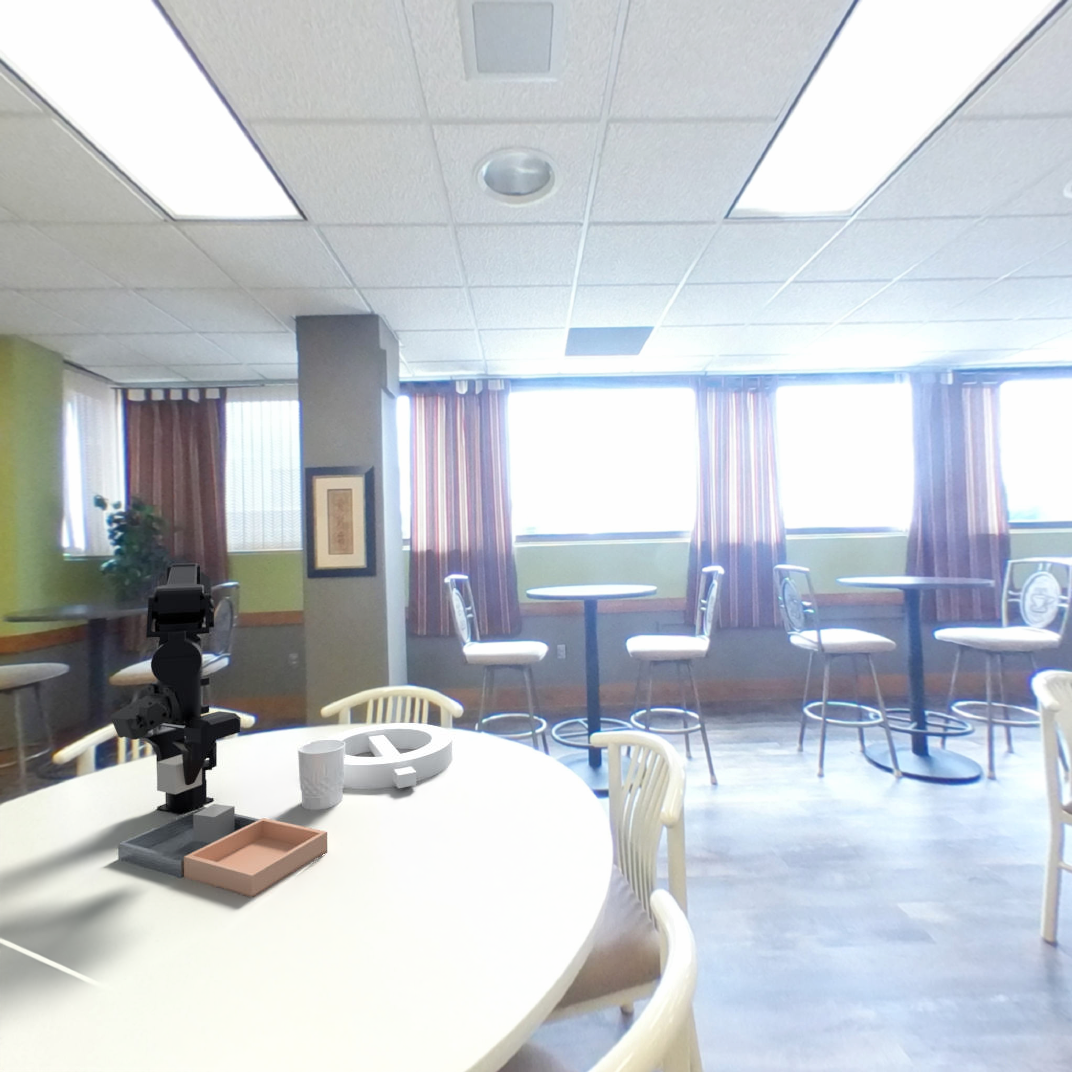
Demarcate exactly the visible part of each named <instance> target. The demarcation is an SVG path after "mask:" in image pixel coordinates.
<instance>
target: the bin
mask: <svg viewBox="0 0 1072 1072" xmlns="http://www.w3.org/2000/svg"><path fill="white" fill-rule="evenodd" d="M207 807H208V806H207ZM207 807H206V806H202V808H201V807H200V808H198V809H195V810H193V811H191V812H188V813H186V814H184V815H183V816H180V817H178V818H175V819H173V820H171V821H168V822H166V823H163V824H161V825H159V826H157V827H154V828H152V829H150V830H146V831H144V832H142V833H140V834H138V835H135V836H134V837H130V838H128V839H126V840H124V841H121V842H119V843H118V844H117V846H118V847H117V848H118V851H117V852H118V854H117V855H118V856H117V859H118V860H119V861H122V862H125V863H130V864H132V865H135V866H138V867H142V868H145V869H149V870H153V871H155V872H159V873H163V874H166V875H169V876H172V877H175V878H179V879H183V878H184V856H187V855H189V854H191V853H193V852H195V851H197V850H199V849H201V848H203V847H205V846H207V845H209V844H211V843H204V842H197V841H193V814H195V813H197V812H199V811H201V810H203V809H205V808H207ZM260 819H261V818H256V817H251V816H247V815H242V814H238V813H235V831H237V830H239V829H242V828H244V827H246V826H248V825H250V824H252V823H254V822H256V821H258V820H260Z"/></svg>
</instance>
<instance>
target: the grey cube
mask: <svg viewBox="0 0 1072 1072" xmlns="http://www.w3.org/2000/svg"><path fill="white" fill-rule="evenodd" d="M235 810H236V809H235V805H228V804H227V805H226V804H218V803H214V804H211V805H210V806H207V808H205V809H203V810H201V811H199V812H197V813H195V814H193V841H197V842H204V843H213V842H215V841H217V840H219V839H221V838H223V837H225V836H227V835H229V834H231V833H233V832H235V814H236V813H235Z"/></svg>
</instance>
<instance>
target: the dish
mask: <svg viewBox="0 0 1072 1072" xmlns="http://www.w3.org/2000/svg"><path fill="white" fill-rule="evenodd" d="M259 819H260V820H258V821H256V822H254V823H252V824H250V825H248V826H246V827H244V828H242V829H239V830H237V831H235V832H233V833H231V834H229V835H227V836H225V837H223V838H221V839H219V840H217V841H215V842H213V843H211V844H209V845H207V846H205V847H203V848H201V849H199V850H197V851H195V852H193V853H191V854H189V855H187V856H184V877H183V878H185V879H188V880H191V881H194V882H199V883H201V884H205V885H208V886H211V887H215V888H218V889H222V890H224V891H227V892H231V893H234V894H237V895H242V896H245V897H249V898H252V899H253V898H255V897H256V896H258V895H260V894H261V893H263V892H265V891H266V890H267V889H269V888H271V887H272V886H274V885H275V884H277V883H279V882H280V881H282V880H284V879H285V878H286V877H287V878H288V876H290V875H292V874H293V873H295V872H296V871H297V870H299V869H301V868H302V867H304V866H307V865H308V864H310V863H311V862H312V861H313V862H315V861H314V860H315V859H316V858H318V859H320V858H321V857H323V856H324V855H323V854H325V853H326V854H328V831H325V830H322V829H321V830H320V829H317V828H316V829H315V828H312V827H307V826H304V825H303V826H301V825H298V824H293V823H290V822H289V823H288V822H284V821H279V820H275V819H271V818H265V817H262V818H259ZM326 854H325V855H326ZM322 855H323V856H322ZM320 856H321V857H320ZM319 857H320V858H319Z"/></svg>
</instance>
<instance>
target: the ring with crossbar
mask: <svg viewBox="0 0 1072 1072" xmlns="http://www.w3.org/2000/svg"><path fill="white" fill-rule="evenodd" d="M330 739H332V740H341V741H343V742H345V769H344V785H343V789H357V790H358V789H360V790H362V789H363V790H364V789H365V790H367V789H369V790H370V789H382V788H390V787H391V788H393V787H396V788H397V789H403V788H406V787H413V786H416V785H417V782H418V781H421V780H425V779H428V778H431V777H433V776H435V775H437V774H439V773H441V772H443V771H445V770H446V769H447V768H448V767H450V765H451V763H452V761H453V735H452V733H451V732H449V730H447V729H445V728H443V727H439V726H436V725H431V724H425V723H414V722H413V723H411V722H410V723H409V722H406V723H405V722H400V723H398V722H397V723H383V724H375V725H367V726H360V727H357V728H352V729H349V730H345V731H342V732H338V733H335V734H333V735H330V736H328V737H326V738H325V739H323V740H330ZM398 749H409V750H410V749H411V750H412V751H407V752H404V753H400V752H399V751H398ZM368 752H371V753H372V754H373V755H374V756H358V755H361V754H364V753H368Z"/></svg>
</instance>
